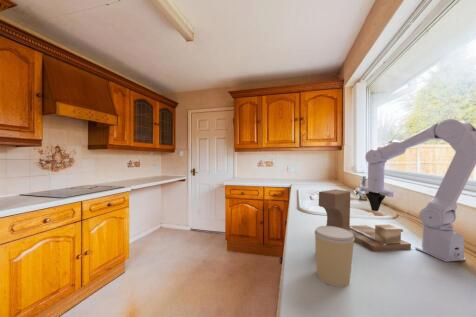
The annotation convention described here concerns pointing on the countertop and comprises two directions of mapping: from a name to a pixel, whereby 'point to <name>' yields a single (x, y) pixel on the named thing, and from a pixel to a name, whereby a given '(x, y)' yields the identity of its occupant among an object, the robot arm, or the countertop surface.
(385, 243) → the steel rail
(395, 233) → the beige peg block
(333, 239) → the coffee cup
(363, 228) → the walnut board
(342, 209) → the decorative block
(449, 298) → the countertop surface
